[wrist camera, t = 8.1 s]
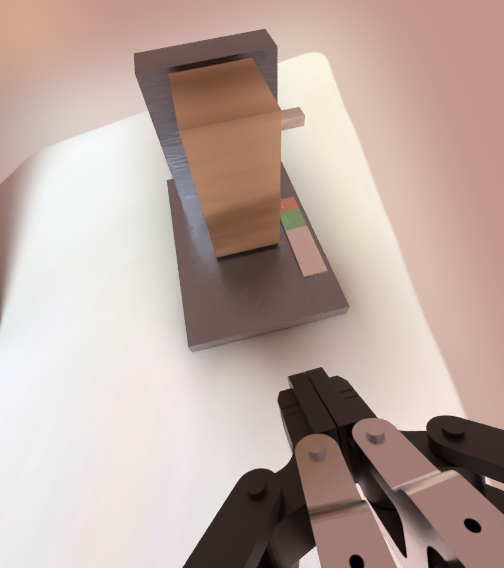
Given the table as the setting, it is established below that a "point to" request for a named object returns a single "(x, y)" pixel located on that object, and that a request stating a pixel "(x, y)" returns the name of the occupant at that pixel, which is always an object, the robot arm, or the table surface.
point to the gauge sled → (233, 151)
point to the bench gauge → (194, 233)
